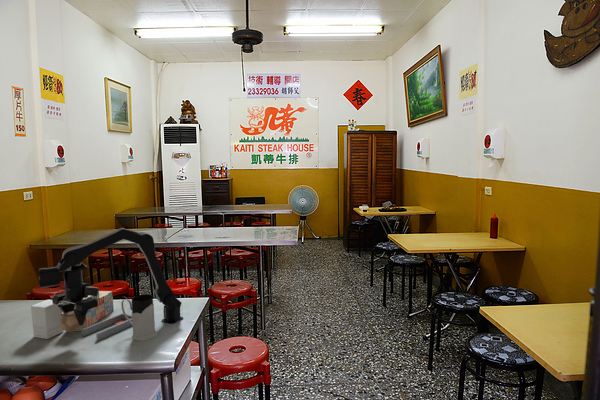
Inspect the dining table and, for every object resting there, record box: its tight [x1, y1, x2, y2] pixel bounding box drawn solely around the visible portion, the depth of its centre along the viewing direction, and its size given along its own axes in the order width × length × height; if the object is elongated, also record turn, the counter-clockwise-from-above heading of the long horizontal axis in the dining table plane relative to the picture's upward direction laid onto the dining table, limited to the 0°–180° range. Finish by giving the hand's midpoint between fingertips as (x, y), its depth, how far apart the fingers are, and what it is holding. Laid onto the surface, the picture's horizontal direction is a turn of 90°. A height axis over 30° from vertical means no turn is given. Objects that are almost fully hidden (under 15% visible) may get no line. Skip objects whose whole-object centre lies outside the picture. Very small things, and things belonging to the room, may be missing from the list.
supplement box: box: [30, 299, 65, 340], centre depth 146 cm, size 7×7×13 cm
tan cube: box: [60, 310, 85, 333], centre depth 137 cm, size 6×6×6 cm
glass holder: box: [121, 294, 157, 341], centre depth 145 cm, size 9×14×15 cm, turn 73°
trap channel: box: [81, 312, 133, 341], centre depth 151 cm, size 10×18×2 cm, turn 153°
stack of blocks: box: [74, 290, 115, 332], centre depth 159 cm, size 21×6×12 cm, turn 174°
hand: (76, 323), depth 138 cm, fingers closed on tan cube, 5 cm apart
